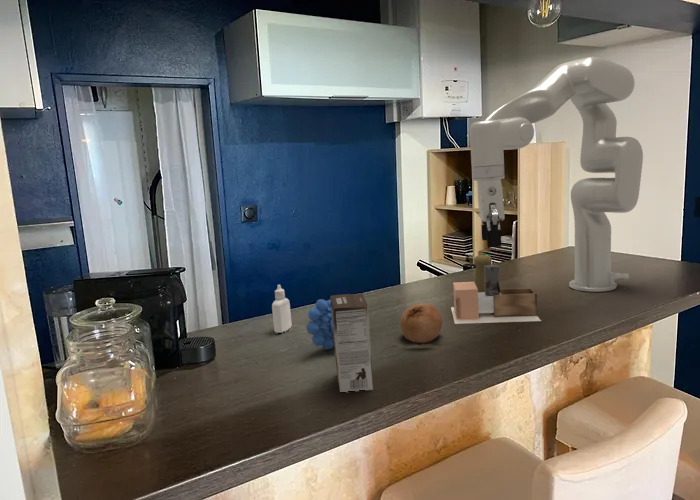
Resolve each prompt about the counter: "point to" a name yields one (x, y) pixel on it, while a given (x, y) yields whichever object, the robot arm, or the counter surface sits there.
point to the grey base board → (494, 318)
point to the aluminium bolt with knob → (489, 289)
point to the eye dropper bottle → (281, 311)
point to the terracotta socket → (465, 300)
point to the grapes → (321, 324)
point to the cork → (481, 271)
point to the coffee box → (352, 342)
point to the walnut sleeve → (515, 302)
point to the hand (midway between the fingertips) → (491, 243)
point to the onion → (421, 323)
